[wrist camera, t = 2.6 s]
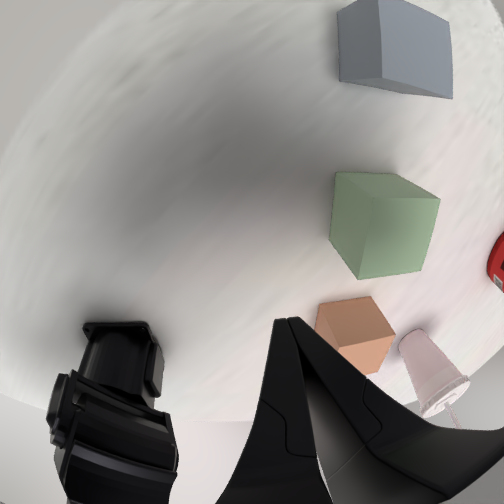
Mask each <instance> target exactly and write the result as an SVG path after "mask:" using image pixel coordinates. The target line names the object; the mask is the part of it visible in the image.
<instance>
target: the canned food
mask: <svg viewBox="0 0 504 504" xmlns="http://www.w3.org/2000/svg"><path fill="white" fill-rule="evenodd" d="M487 272H488V275H489V277H490V279H491V280H492V281H493V282H494V283H495V284H496V285H497V286H498V287H499V288H500V289H501V290H502V291H503V293H504V233H503V234H502V235H501V236H500V238H499V239H498V240H497V242H496V244H495V246H494V247H493V250H492V252H491V254H490V257H489V261H488V266H487Z"/></svg>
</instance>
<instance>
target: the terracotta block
mask: <svg viewBox="0 0 504 504" xmlns="http://www.w3.org/2000/svg"><path fill="white" fill-rule="evenodd" d="M314 331H316V332H317V333H318V334H319V335H320V336H321V337H322V338H323V339H324V340H326V341H327V342H328V343H329V344H330V345H331V346H332V347H333V348H334V349H336V350H337V351H338V352H339V353H340V354H341V355H342V356H343V357H344V358H346V359H347V360H348V361H349V362H350V363H351V364H352V365H353V366H355V367H356V368H357V369H358V370H359V371H360V372H361V373H362V374H364V375H367V374H371V373H375V372H378V370H379V368H380V366H381V364H382V362H383V360H384V358H385V356H386V354H387V352H388V350H389V348H390V346H391V344H392V342H393V340H394V338H395V335H396V334H395V332H394V331H393V329H392V328H391V326H390V324H389V323H388V321H387V320H386V318H385V317H384V315H383V314H382V312H381V311H380V309H379V308H378V306H377V305H376V303H375V302H374V300H373V299H372V297H371V296H369V297H363V298H356V299H350V300H343V301H336V302H329V303H322V304H319V308H318V314H317V319H316V324H315V330H314Z"/></svg>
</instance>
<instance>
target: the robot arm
mask: <svg viewBox="0 0 504 504" xmlns="http://www.w3.org/2000/svg"><path fill="white" fill-rule="evenodd" d="M142 328H144V329H142ZM82 329H83V331H84V333H85V335H86V337H87V339H88V344H87V347H86V349H85V352H84V355H83V358H82V361H81V364H80V367H79V370H78V372H77V371H75V370H73V369H72V370H71V372H70V374H69V375H68V374H60V373H59V374H58V376H57V379H56V382H55V385H54V388H53V391H52V394H51V398H50V402H49V407H48V411H47V416H46V420H47V423H48V425H49V426H50V434H51V438H50V443H51V444H53V445H55V446H56V449H55V454H54V461H55V465H56V469H57V472H58V475H59V479H60V481H61V484H62V486H63V488H64V491H65V493H66V495H67V504H169V496H170V491H171V488H172V485H173V483H174V481H175V479H176V477H177V472H176V471H177V467H178V462H179V454H178V449H177V445H176V441H175V437H174V432H173V428H172V422H171V418H170V414H169V413H166V412H161V411H158V410H155V409H154V401H155V398H159V397H160V396H161V389H162V379H163V371H164V359H163V356H162V354H161V351H160V348H159V346H158V344H157V343H156V342H154V339H153V336H152V334H151V331H150V328H149V326H148V325H147V324H146V323H84V325H83V327H82ZM316 452H317V453H316ZM317 455H318V458H319V461H320V464H321V467H322V470H323V473H324V476H325V478H326V482H327V485H328V488H329V491H330V494H331V497H332V499H331V497H330V495H329V493H328V490H327V488H326V486H325V484H324V481H323V479H322V476H321V473H320V470H319V465H318V460H317ZM332 500H333V502H332ZM333 503H334V504H504V427H503V428H501V429H497V430H491V431H490V430H489V431H486V430H467V429H455V428H445V427H440V426H436V425H433V424H431V423H429V422H427V421H425V420H424V419H422V418H421V417H419V416H418V415H416V414H415V413H413V412H412V411H410V410H409V409H407V408H406V407H404V406H403V405H401V404H400V403H398V402H397V401H396V400H394V399H393V398H391V397H390V396H389V395H387V394H386V393H385V392H384V391H382V390H381V389H380V388H379V387H377V386H376V385H375V384H374V383H373V382H372V381H371V380H369V379H367V377H366V376H365V375H364V374H362V373H361V372H360V371H359V370H358V369H357V368H356V367H355V366H353V365H352V364H351V363H350V362H349V361H348V360H347V359H346V358H344V357H343V356H342V355H341V354H340V353H339V352H338V351H337V350H336V349H334V348H333V347H332V346H331V345H330V344H329V343H328V342H327V341H326V340H324V339H323V338H322V337H321V336H320V335H319V334H318V333H317V332H316V331H314V330H313V329H312V328H311V327H310V326H309V325H308V324H307V323H306V322H305V321H303V320H302V319H301V318H300V317H298V316H296V317H289V318H287V319H286V318H280V319H275V320H274V323H273V328H272V334H271V339H270V345H269V350H268V356H267V361H266V366H265V371H264V376H263V381H262V386H261V391H260V396H259V401H258V405H257V410H256V414H255V418H254V422H253V425H252V429H251V431H250V434H249V437H248V439H247V442H246V444H245V447H244V449H243V451H242V454H241V456H240V459H239V461H238V463H237V466H236V468H235V470H234V472H233V474H232V477H231V479H230V481H229V483H228V484H227V486H226V488H225V490H224V492H223V493H222V494H221V496H220V497H219V499H218V500H217V502H216V503H215V504H333ZM0 504H4V503H2V502H0Z"/></svg>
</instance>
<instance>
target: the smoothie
mask: <svg viewBox="0 0 504 504" xmlns="http://www.w3.org/2000/svg"><path fill="white" fill-rule="evenodd" d="M398 348H399V351H400V353H401V355H402V358H403V360H404V363H405V365H406V368H407V370H408V373H409V376H410V378H411V381H412V384H413V386H414V389H415V392H416V394H417V398H418V400H419V403H420V406H421V408H420V412H421V414H422V416H423V417H424V418H427V417H430V416H433V415H435V414H437V413H439V412H440V411H442V410H443V409H445V408H446V410H447V412H448V414H449V415H450V417H451V419H452V421H453V423H454V425H455V427H456V429H462V427H461V425H460V423H459V421H458V419H457V417H456V416H455V414H454V412H453V410H452V408H451V406H450V405H451V404H452V403H453V402H454V401H455V400H457V399H458V398H459V397H460V396H461V395H462V394H463V393H464V392H465V391H466V390H467V388H468V387H469V385H470V381H469V379H468V376H467V375H462V374H461V372H460V371H459V370H458V369H457V368H456V366H455V365H454V364H453V363H452V362H451V361H450V360H449V359H448V358H447V356H446V355H445V354H444V353H443V352H442V351H441V350H440V349H439V348H438V347H437V345H436V344H435V343H434V342H433V341H432V340H431V339H430V338H429V337H428V336H427V335H426V334H425V333H424V332H423V330H421V329H417V330H414V331H412V332H410V333H409V334H407V335H406V336H405V337H404V338H403V339H402V340H401V342H400V343H399V346H398Z"/></svg>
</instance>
